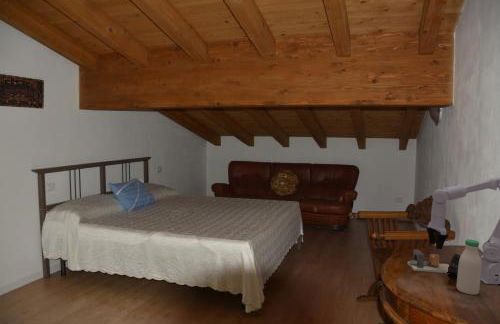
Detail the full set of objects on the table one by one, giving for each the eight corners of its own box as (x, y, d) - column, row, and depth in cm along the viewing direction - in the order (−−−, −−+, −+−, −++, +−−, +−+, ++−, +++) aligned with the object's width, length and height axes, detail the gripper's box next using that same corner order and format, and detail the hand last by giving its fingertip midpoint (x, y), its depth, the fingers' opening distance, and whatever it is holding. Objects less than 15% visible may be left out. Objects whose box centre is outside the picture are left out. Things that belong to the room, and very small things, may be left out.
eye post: (423, 268, 169) (424, 254, 168) (417, 267, 169) (418, 254, 169) (417, 262, 176) (418, 249, 175) (412, 262, 176) (413, 249, 175)
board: (456, 273, 167) (456, 271, 167) (414, 270, 168) (414, 268, 168) (447, 266, 176) (447, 264, 176) (407, 263, 177) (407, 261, 177)
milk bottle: (482, 296, 144) (487, 244, 143) (460, 293, 146) (464, 242, 144) (474, 288, 152) (479, 239, 150) (453, 285, 153) (458, 237, 152)
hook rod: (436, 264, 174) (437, 253, 173) (439, 267, 170) (440, 256, 169) (408, 262, 175) (409, 252, 174) (411, 265, 171) (412, 254, 170)
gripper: (422, 212, 177) (420, 240, 179) (435, 219, 163) (432, 250, 164) (438, 213, 177) (436, 241, 178) (452, 220, 162) (449, 251, 164)
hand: (435, 246), depth 171 cm, fingers open, 7 cm apart
